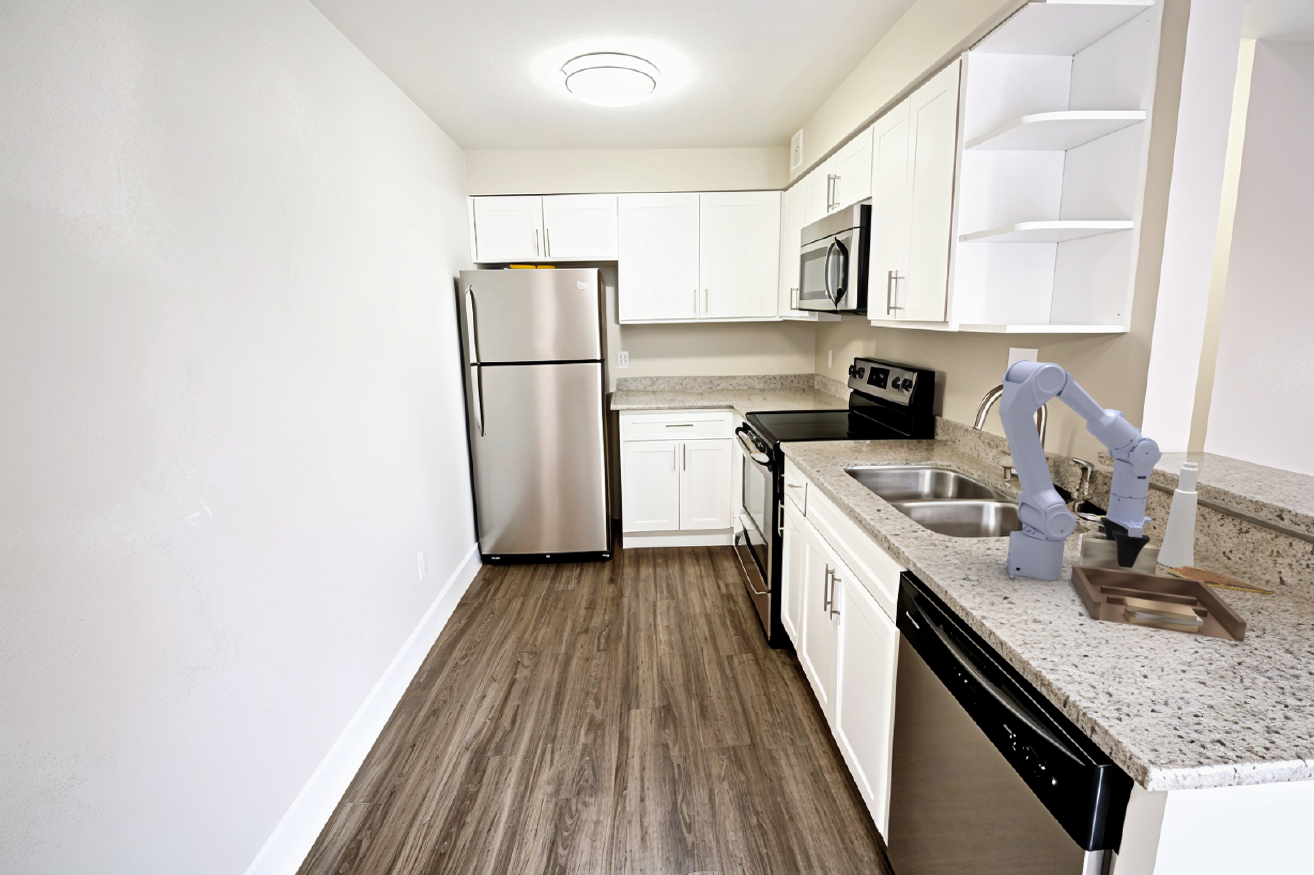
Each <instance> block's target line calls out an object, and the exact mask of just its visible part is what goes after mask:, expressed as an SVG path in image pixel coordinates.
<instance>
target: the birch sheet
mask: <svg viewBox="0 0 1314 875" xmlns="http://www.w3.org/2000/svg"><path fill="white" fill-rule="evenodd" d="M1080 547H1081V548H1080V557H1079V562H1078V563H1079V564H1078V565H1080V566H1088V567H1096V568H1104V569H1113V570H1121V571H1129V572H1137V573H1146V574H1154V575H1156V572H1157V565H1158V562H1157V558H1158V555H1159V552H1160V551H1159V548H1158V547H1157V546H1156V544H1149V543H1147V544H1146V545H1145V546H1144V547H1143V548H1142V550H1141V551H1140V553H1139V555H1138V557H1137V559H1136V561H1135V563H1134V565H1133V567H1132V568H1128V567H1120V566H1119V565H1118V559H1117V545H1116V541H1112V540H1106V539H1101V538H1093V537H1092V538H1091V537H1082V539H1081V545H1080Z"/></svg>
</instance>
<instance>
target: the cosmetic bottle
mask: <svg viewBox="0 0 1314 875" xmlns="http://www.w3.org/2000/svg"><path fill="white" fill-rule="evenodd" d="M1182 465H1183V466H1181V467H1180V470H1179V478H1178V484H1177V488H1174V492H1173V496H1172V501H1171V506H1170V509H1169V515H1168V519H1167V522H1166V528H1165V529H1166V530H1165V533H1164V537H1163V541H1162V544H1161V547H1160V551H1158V558H1157V564H1160V565H1162V566H1165V567H1168V568H1170V569H1171V568H1178V567H1183V566H1190V567H1195V563H1194V561H1195V558H1194V542H1195V539H1194V538H1195V528H1196V518H1197V508H1198V507H1197V506H1198V491H1196V488H1197V482H1198V476H1199V468H1198V465H1199V464H1198V463H1197V462H1192V461H1185V462H1184V461H1183V462H1182Z"/></svg>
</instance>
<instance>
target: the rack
mask: <svg viewBox="0 0 1314 875" xmlns="http://www.w3.org/2000/svg"><path fill="white" fill-rule="evenodd" d="M1070 575H1071V576H1070V582H1071V584H1072V585H1073V587H1074V589H1075V590H1076V592H1077V594H1078V596H1079V598H1080V600H1081V601H1082V603H1083V605H1084V607H1085V609H1086V611H1087V612H1088V614H1089V617H1090V618H1091V620H1096V621H1101V622H1102V621H1103V622H1108V623H1109V622H1110V623H1115V624H1123V625H1129V626H1136V627H1143V628H1148V629H1156V630H1163V631H1170V632H1176V633H1181V634H1182V633H1183V634H1189V635H1196V636H1202V637H1204V636H1205V637H1208V638H1215V639H1222V640H1223V639H1224V640H1229V641H1237V642H1245V641H1244V640H1245V635H1246V631H1247V629H1246V628H1247V625H1248V622H1247V621H1245V619H1243V618H1242V616H1240V615H1239V614H1238V612H1237V611H1235V610H1234V609H1233V608H1232V607H1231V606H1230V605H1229V604H1228V603H1227V602H1226V601H1225V600H1224V599H1223V598H1221V597H1220V596H1219V595H1218V593H1217V592H1216V591H1214V589H1212V587H1209V586H1208V585H1207V584H1206V583H1205V582H1204V581H1203V580H1195V579H1187V578H1180V577H1178V576H1170V575H1160V574H1155V575H1154V574H1146V573H1137V572H1129V571H1121V570H1113V569H1104V568H1096V567H1088V566H1080V565H1079V564H1072V567H1071V574H1070ZM1124 597H1130V598H1136V599H1142V600H1149V601H1155V602H1161V603H1167V604H1173V605H1180V606H1186V607H1191V608H1192V610H1193V611H1194V613H1195V614H1196V615H1197V616H1198V617H1199V618H1201V619H1202V620H1203V626H1202V627H1201V626H1198V627H1199V628H1198V633H1195V632H1189V631H1182V630H1175V629H1169V628H1162V627H1155V626H1148V625H1142V624H1135V623H1130V622H1129V620H1128V619H1127V617H1126V616H1125V614H1124V608H1126V607H1125V605H1124V602H1123V600H1124Z"/></svg>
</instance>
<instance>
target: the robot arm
mask: <svg viewBox="0 0 1314 875" xmlns="http://www.w3.org/2000/svg"><path fill="white" fill-rule="evenodd" d="M1001 382H1002V391H1001V392H1002V393H1001V397H1000V402H999V407H998V414H999V417H1000V420H1001V424H1002V427H1003V431H1004V434H1005V437H1006V441H1007V443H1008V447H1009V450H1010V454H1011V458H1012V460H1013V463H1014V467H1015V470H1016V474H1017V477H1018V480H1019V484H1020V488H1021V490H1022V492H1020V493H1019V494H1017V501H1018V507H1017V517H1018V519H1019V521H1020V522H1021V523H1022V530H1020V531H1019V530H1018V531H1015V530H1011V531H1010V534H1009V539H1008V548H1007V550H1008V551H1007V557H1006V567H1007V571H1008V574H1009V577H1010V579H1012V580H1013V579H1014V580H1015V579H1016V578H1015V576H1023V577H1029V578H1034V579H1038V580H1046V581H1050V580H1051V581H1053V580H1054V581H1055V580H1059V579H1060V578H1061V576H1062V569H1063V559H1064V551H1065V550H1064V549H1065V542H1066V541H1067V538H1068V537H1070V536H1071V535H1072V534H1073V532H1074V530H1075V529H1076V526H1077V521H1076V517H1075V515H1074V513H1072V512H1071V511H1070V510H1069V509H1068V507H1067V505H1066V502H1065V500H1064V498H1062V496H1061V495H1060V494H1059V492H1058V491H1057V490H1056V488H1055V486H1054V483H1053V480H1052V477H1051V473H1050V469H1049V465H1048V462H1047V458H1046V456H1045V453H1044V452H1045V451H1044V449H1043V445H1042V441H1041V438H1040V434H1039V432H1038V431H1039V430H1038V428H1037V424H1036V421H1035V417H1034V415H1035V414H1036V413H1037V411H1038V410H1039V409H1040V408H1041V407H1043V406H1044V405H1045V404H1047V403H1048V402H1049V401H1050V400H1051V399H1053V398H1054V397H1055V398H1058V400H1060V401H1062V402H1063V403H1064V404H1065V405H1066V406H1068V407H1069V408H1070V409H1071V410H1073V411H1074V412H1076V413H1077V414H1078V415H1079V416H1080V417H1081V418H1083V419H1085V420H1086V425H1085V428H1086V431H1088V432H1089V433H1090V434H1091V435H1092V436H1093V437H1094V438H1096V439H1097V440H1098V441H1099V442H1100V443H1101V444H1102V445H1104V446H1105V448H1107V453H1108V455H1109V457H1111V458H1113V459H1114V463H1113V464H1114V465H1113V470H1112V471H1113V472H1112V478H1111V486H1110V494H1109V499H1108V500H1109V502H1108V508H1107V509H1108V510H1107V512H1106V514H1105V516H1106V517H1101V518H1100V519H1099V520H1100V521H1102V524H1103V526H1104V529H1105V534H1106V536H1105V540H1112V541H1116V545H1117V559H1118V565H1119V566H1120V567H1128V568H1132V567H1133V565H1134V563H1135V561H1136V559H1137V557H1138V555H1139V553H1140V551H1141V550H1142V548H1143V547H1144V546H1145V545H1146V544H1149V543H1150V540H1151V537H1150V536H1149V535H1147V534H1143V533H1144V527H1143V526H1144V524H1146V523H1147V524H1151V523H1152V518H1151V517H1150V516H1146V515H1145V514H1146V507H1147V506H1146V504H1147V499H1148V498H1147V497H1148V493H1149V492H1148V491H1149V486H1150V485H1149V484H1150V478H1151V477H1150V476H1151V475H1152V474H1153V472H1154V467H1155V466H1156V464H1157V463H1158V462H1160V460H1161V458H1162V455H1163V452H1162V451H1160V447H1159V445H1158V443H1157V442H1156V441H1155V440H1153V439H1151V438H1149V437H1145V436H1143V434H1142V430H1141V429H1140V428H1139V427H1135V426H1133V425H1132V424H1131V423H1130V422H1129V421H1128V420H1126V419H1125V418H1124V417H1126V414H1125V413H1124V412H1123V411H1121V410H1115V409H1112V408H1105V409H1104V408H1103V407H1102V406H1101V405H1099V403H1098V402H1097V401H1096V400H1095V399H1094V398H1093V397H1092V396H1091V395H1090V394H1089V393H1088V392H1087V391H1086V390H1085V389H1084V388H1083V387H1082V386H1081V385H1080V384H1079V383H1078V382H1077V381H1076V380H1075V379H1074V376H1073V375H1072V373H1070V372H1068V371H1066V370H1064V368H1063V367H1062V366H1061V365H1059V364H1058V363H1054V362H1039V361H1031V360H1027V359H1021V360H1020V359H1019V360H1017V361H1014V363H1012V364H1011V365H1010V366H1009V367H1008V368H1007V370H1006V371H1005V373H1004V374H1003V376H1001ZM1017 568H1019V569H1017Z"/></svg>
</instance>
